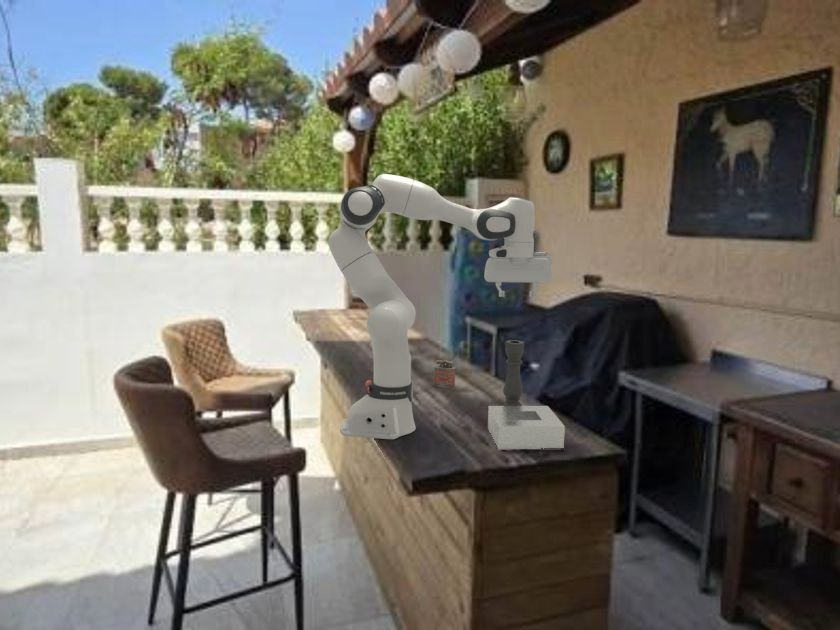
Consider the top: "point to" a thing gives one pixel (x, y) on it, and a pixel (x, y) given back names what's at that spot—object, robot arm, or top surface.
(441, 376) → the lighter
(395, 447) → the top surface
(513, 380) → the candle holder
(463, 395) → the top surface
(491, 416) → the sleeve block
